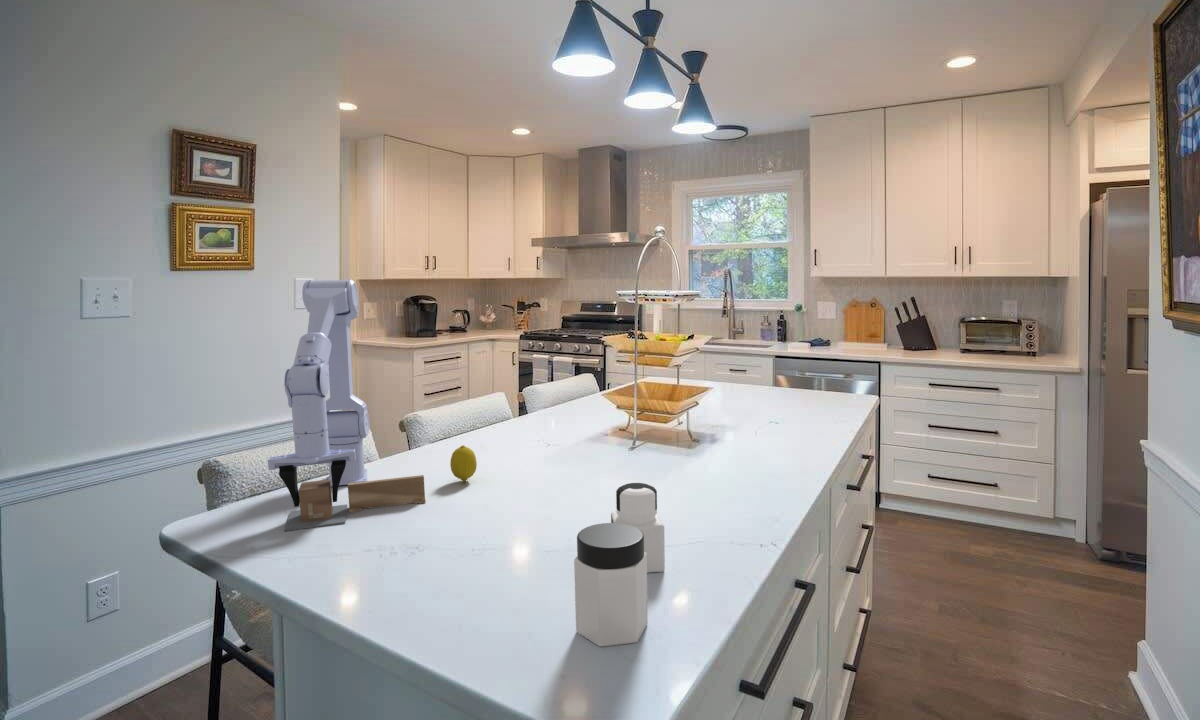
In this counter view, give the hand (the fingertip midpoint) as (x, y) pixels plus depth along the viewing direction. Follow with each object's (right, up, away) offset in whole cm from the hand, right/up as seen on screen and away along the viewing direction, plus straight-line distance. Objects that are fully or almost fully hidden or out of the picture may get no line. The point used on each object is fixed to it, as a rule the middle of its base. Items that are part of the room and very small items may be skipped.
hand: (316, 502), depth 120 cm
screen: (+11, -2, +7) cm, 13 cm away
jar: (+54, -7, -40) cm, 67 cm away
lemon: (+23, 0, +21) cm, 31 cm away
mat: (0, -3, 0) cm, 3 cm away
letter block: (0, -3, 0) cm, 3 cm away
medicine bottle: (+58, -5, -22) cm, 62 cm away
